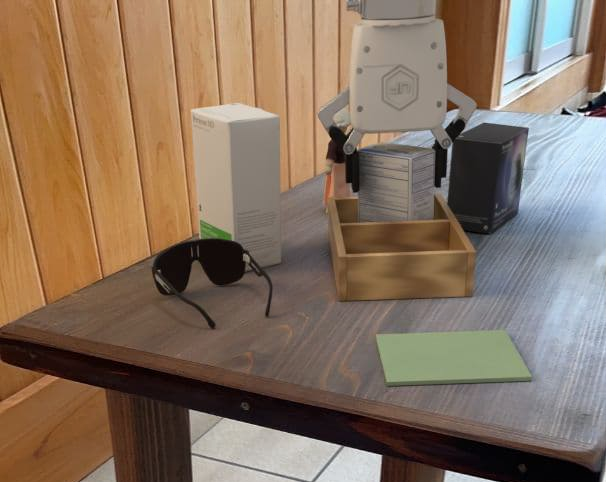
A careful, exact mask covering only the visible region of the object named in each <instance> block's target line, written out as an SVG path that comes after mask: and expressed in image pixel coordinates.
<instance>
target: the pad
mask: <svg viewBox="0 0 606 482" xmlns="http://www.w3.org/2000/svg"><path fill="white" fill-rule="evenodd" d="M375 341H376V345H377V350H378V355H379V358H380V362H381V367H382V371H383V375H384V380H385V385H386V386H387V387H396V386H424V385H425V386H426V385H427V386H428V385H451V384H452V385H453V384H479V383H481V384H482V383H505V382H506V383H509V382H532V381H533V375H532V373H531V372H530V370H529V368H528V367H527V365H526V363H525V361H524V359H523V358H522V356H521V354H520V352H519V351H518V349H517V348H516V346H515V343H514V341H513V340H512V339H511V337H510V335H509V333H508V332H507V329H493V330H491V329H490V330H489V329H488V330H464V331H462V330H461V331H436V332H410V333H408V332H406V333H380V334H378V333H377V334H375Z"/></svg>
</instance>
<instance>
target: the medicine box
mask: <svg viewBox="0 0 606 482" xmlns="http://www.w3.org/2000/svg"><path fill="white" fill-rule="evenodd" d="M357 151H358V154H359V191H358V193H357V197H358V223H360V222H389V221H417V220H434V194H435V187H434V182H435V150H434V149H432V147H431V148H430V147H425V146H424V147H423V146H417V145H416V146H415V145H410V144H401V143H392V142H386V141H385V142H384V141H381V142H377V143H373V144H370V145H366V146H364V147H361V148H359V149H357Z"/></svg>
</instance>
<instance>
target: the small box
mask: <svg viewBox="0 0 606 482" xmlns="http://www.w3.org/2000/svg"><path fill="white" fill-rule="evenodd" d="M529 131H530V128H529V127H527V126H517V125H509V124H502V123H501V124H500V123H492V122H482V123H479V124H477V125H475V126H473V127H471V128H470V129H467V130H466V131H465V130H464V131H462V132H461V134H460V135H459V136H458V137H457V138H456V139H455V140H454V141H453V142H452V144H451V151H450V165H449V175H448V189H447V199H446V203H447V204H448V206H449V208H450V209H451V211H452V213H453V214H454V216H455V218H456V219H457V221H458V223H459V224H460V226H461V227H462V229H463V231H465V232H467V231H468V232H473V233H480V234H487V235H489V234H493V233H494V232H495V231H496V230H497V229H499V228H500V227H501V226H503V225H505V224H506V223H508V221H510V220H511V219H512V218H513V217H515V216H517V215H519V208H520V200H521V193H522V185H523V177H524V168H525V160H526V152H527V145H528V138H529Z"/></svg>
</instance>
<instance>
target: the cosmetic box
mask: <svg viewBox="0 0 606 482" xmlns="http://www.w3.org/2000/svg"><path fill="white" fill-rule="evenodd" d="M190 119H191V121H190V122H191V133H192V149H193V162H194V163H193V164H194V177H195V179H194V180H195V192H196V208H197V223H198V237H199V238H198V239H204V238H221V239H226V240H232V241H235V242H238V243H239V244H241V246H242V247H243V249H244V250H248V251H249V254H250V255H251V256H252V258H253V259H254V260H255V261H256V262H257V264H258V265H259V266H260V267H261V268H262V269H263V268H267V267H270V266H275V265H279V264H282V225H281V224H282V218H281V217H282V209H281V208H282V207H281V199H282V197H281V116H280V115H278V114H275V113H272V112H269V111H266V110H264V109H262V108H260V107H256V106H255V107H254V106H251V105H247V104H243V103H241V102H235V103H227V104H220V105H214V106H212V105H211V106H205V107H198V108H192V109H190ZM250 271H253V270H252V268H251V267H250V266H249V265H248V264H247V262H246V267H245V273H247V272H250Z"/></svg>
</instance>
